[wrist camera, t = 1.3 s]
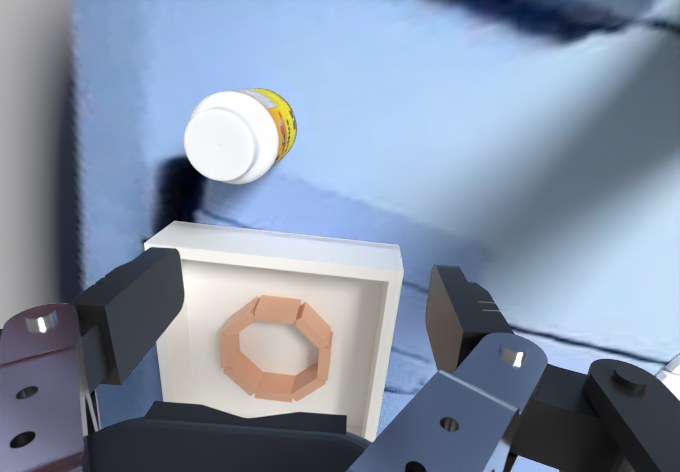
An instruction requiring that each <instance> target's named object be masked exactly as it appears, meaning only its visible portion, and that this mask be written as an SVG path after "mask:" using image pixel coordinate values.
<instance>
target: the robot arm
mask: <svg viewBox="0 0 680 472" xmlns="http://www.w3.org/2000/svg"><path fill="white" fill-rule="evenodd" d="M184 297H185V293H184V284H183V275H182V267H181V258H180V253H179V251H178V250H177V249H176V248H161V247H150V248H149V249H147V250H146V251H145V252H143V253H142V254H141V255H139V256H138V257H137V258H135V259H134V260H133V261H131V262H129V263H126V264H124V265H121V266H119V267H117V268H115V269H114V270H112V271H111V272H110V273H108V274H107V275H106V276H105V278H101V279H100V280H99V281H97V282H96V284H95V285H92V286H91V287H89V288H88V289H87V290H85V291H84V292H82V293H81V294H80V295H78V296H77V297H76V298H74V299H73V300H72V301H70V302H69V303H67V304H64V303H52V304H45V305H41V306H36V307H33V308H30V309H27V310H25V311H22V312H21V313H18V314H16V315H15V316H13V317H12V318H10V319H9V320H8V321H7V322H6V323H5V324H4V327H3V329H0V472H513V471H514V469H515V467H516V465H517V462H518V460H519V458H520V456H522V457H525V458H527V459H530V460H533V461H536V462H539V463H542V464H545V465H547V466H550V467H553V468H556V469H559V471H560V472H680V400H679V399H678V398H677V397H676V396H675V395H674V394H673V393H672V392H671V391H670V390H669V389H668V388H667V387H666V386H665V385H664V384H663V383H662V382H661V381H660V380H659V379H658V378H656V377H655V376H653V375H652V374H650V373H649V372H647V371H645V370H643V369H641V368H639V367H637V366H634V365H632V364H629V363H626V362H623V361H619V360H613V359H599V360H596V361H594V362H593V363H592V364H591V365H590V368H589V371H588V374H587V375H586V374H582V373H578V372H574V371H571V370H567V369H563V368H559V367H556V366H553V365H550V364H548V363H547V362H548V361H547V356H546V354H545V353H544V351H543V350H542V349H541V348H540V347H538V346H537V345H536V344H534V343H533V342H531V341H529V340H528V339H525V338H523V337H520V336H518V335H515V334H514V333H513V331H512V330H511V328H510V326H509V325H508V323H507V322H506V320H505V318H504V317H503V315H502V313H501V312H499V309H498V307H497V305H496V304H494V301H493V299H492V297H491V296H490V294H489V292H488V291H486V290H485V289H484V288H482V287H481V286H479V285H478V284H477V283H471V282H467V280H466V278H465V276H464V275H463V273H462V271H461V269H460V267H459V266H446V265H434V266H433V268H432V272H431V279H430V286H429V293H428V299H427V306H426V329H427V333H428V336H429V340H430V344H431V348H432V351H433V355H434V359H435V362H436V366H437V370H438V372H437V373H436V374H435V375H434V376H433V377H432V378H431V379H430V380H429V381H428V382H427V384H426V385H425V386H424V387H423V388H422V389H421V390H420V391H419V392H418V393H417V394H416V396H415V397H414V398H413V399H412V400H411V401H410V402H409V403H408V404H407V405H406V406H405V408H404V409H403V410H402V411H401V412H400V413H399V414H398V415H397V416H396V417H395V418H394V420H393V421H392V422H391V423H390V424H389V425H388V426H387V427H386V428H385V429H384V430H383V431H382V433H381V434H380V435H379V436H378V437H377V438H376V439H375V440H374V441H373V442H370V441H369V440H367V439H365V438H363V437H360V436H358V435H356V434H353V433H350V432H347V431H346V427H347V415H336V414H323V413H309V412H294V413H286V414H278V415H271V416H263V417H256V418H243V417H240V416H236V415H233V414H230V413H227V412H224V411H221V410H218V409H214V408H211V407H208V406H205V405H202V404H189V403H175V402H162V401H155V402H154V403H153V405H152V406H151V408H150V409H149V411H148V412H147V414H146V415H145V417H139V418H135V419H130V420H126V421H123V422H119V423H116V424H113V425H111V426H108V427H106V428H103V429H101V421H100V414H99V406H98V399H97V394H96V390H95V389H96V387H97V386H98V385H99V384H111V385H121V384H122V383H123V382H124V381H125V379H126V378H127V377H128V376H129V375H130V373H131V372H132V371H133V370H134V368H135V367H136V366H137V365H138V363H139V362H140V361H141V360H142V358H143V357H144V356H145V355H146V353H147V352H148V351H149V350H150V349H151V347H152V346H153V345H154V344H155V342H156V341H157V340H158V339H159V337H160V336H161V335H162V334H163V332H164V331H165V330H166V329H167V328H168V326H169V325H170V324H171V323H172V321H173V320H174V319H175V318H176V316H177V315H178V314H179V313H180V311H181V309H182V307H183V303H184Z"/></svg>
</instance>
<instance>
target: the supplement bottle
mask: <svg viewBox="0 0 680 472" xmlns="http://www.w3.org/2000/svg"><path fill="white" fill-rule="evenodd" d="M296 134H297V122H296V118H295V114H294V112H293V110H292V108H291V106H290V105H289V104H288V102H287V101H286V100H285V99H284V98H283V97H281V96H280V95H279V94H277V93H275V92H273V91H270V90H267V89H260V88H257V89H244V90H233V91H223V92H218V93H215V94H212V95H210V96H208V97H206V98H205V99H203V100H202V101H201V102H200V103H199V104H198V105H197V106H196V108H195V109H194V111H193V112H192V114H191V117H190V119H189V123H188V125H187V127H186V130H185V133H184V148H185V152H186V155H187V157H188V159H189V161H190V162H191V164H192V166H193V167H194V168H195V169H196V170H197V171H198V172H199V173H201V174H202V175H204V176H205V177H207V178H210V179H212V180H216V181H222V182H225V183H229V184H246V183H250V182H253V181H255V180H257V179H259V178H260V177H262V176H263V175H264V174H265V173H267V172H268V171H269V170H270V169H271V168H272V167H273V166H274V165H275V164H276V163H277V162H278V161H279V160H280V159H281V158H283V157H284V156H285V155H286V154H287V153H288V152H289V150H290V149H291V148H292V146H293V144H294V142H295V139H296Z"/></svg>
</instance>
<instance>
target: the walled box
mask: <svg viewBox="0 0 680 472" xmlns="http://www.w3.org/2000/svg"><path fill="white" fill-rule="evenodd" d="M144 246H145V251H146V250H147V249H149V248H150V247H161V248H176V249H177V250H178V251H179V253H180V258H181V267H182V275H183V284H184V293H185V297H184V303H183V307H182V309H181V311H180V313H179V314H178V315H177V316H176V318H175V319H174V320H173V321H172V323H171V324H170V325H169V326H168V328H167V329H166V330H165V331H164V332H163V334H162V335H161V336H160V337H159V339H158V340H157V341H156V344H157V353H158V361H159V369H160V377H161V385H162V394H163V402H175V403H189V404H202V405H205V406H208V407H211V408H214V409H218V410H221V411H224V412H227V413H230V414H233V415H236V416H240V417H243V418H256V417H263V416H271V415H278V414H286V413H294V412H309V413H323V414H336V415H347V427H346V431H347V432H350V433H353V434H356V435H358V436H360V437H363V438H365V439H367V440H369V441H370V442H373V441H374V440H375V439H376V434H377V428H378V422H379V416H380V410H381V404H382V398H383V392H384V386H385V380H386V375H387V369H388V363H389V357H390V351H391V345H392V339H393V333H394V327H395V321H396V316H397V310H398V304H399V298H400V292H401V286H402V280H403V274H404V269H403V263H402V258H401V252H400V246H399V245H396V244H387V243H378V242H368V241H359V240H349V239H340V238H331V237H321V236H312V235H303V234H293V233H284V232H275V231H265V230H256V229H246V228H237V227H228V226H218V225H209V224H200V223H190V222H181V221H174V222H172V223H171V224H169V225H168V226H167V227H165V228H164V229H163V230H161V231H160V232H159V233H157V234H156V235H155V236H153V237H152V238H151V239H149V240H148V241H147V242H145V243H144Z"/></svg>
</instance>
